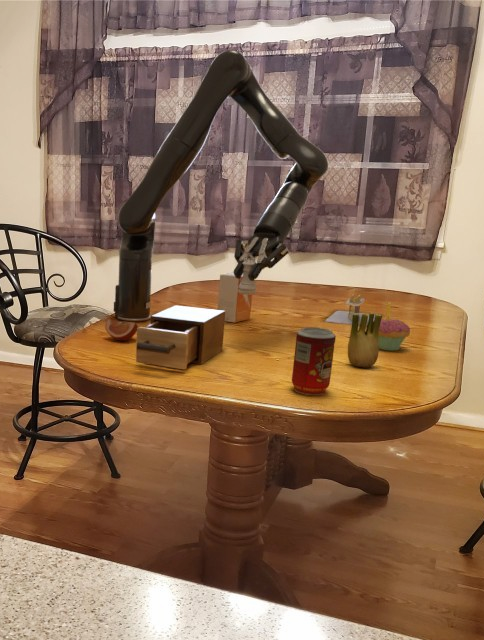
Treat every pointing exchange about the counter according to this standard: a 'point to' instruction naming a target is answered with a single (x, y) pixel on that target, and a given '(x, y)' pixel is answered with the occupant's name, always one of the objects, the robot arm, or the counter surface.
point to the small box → (233, 299)
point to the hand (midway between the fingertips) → (243, 277)
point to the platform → (347, 316)
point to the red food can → (313, 360)
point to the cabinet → (209, 327)
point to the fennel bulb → (364, 340)
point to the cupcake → (392, 332)
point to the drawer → (168, 344)
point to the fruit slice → (121, 329)
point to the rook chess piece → (247, 279)
